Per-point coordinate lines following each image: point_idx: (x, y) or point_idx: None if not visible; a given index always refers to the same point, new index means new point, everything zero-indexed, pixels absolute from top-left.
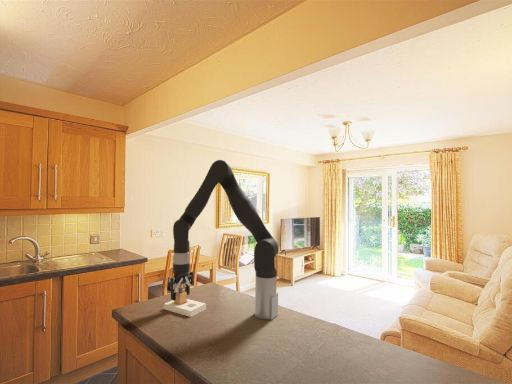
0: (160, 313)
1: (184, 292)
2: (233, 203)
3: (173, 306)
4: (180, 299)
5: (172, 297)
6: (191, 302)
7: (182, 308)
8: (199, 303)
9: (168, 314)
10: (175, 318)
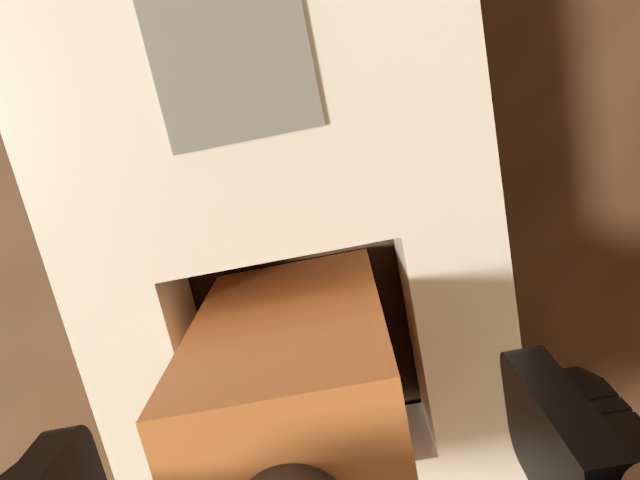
0: (635, 371)
1: (202, 445)
2: None
3: (513, 301)
4: (381, 318)
5: (616, 408)
6: (140, 211)
7: (478, 59)
8: (38, 29)
9: (584, 251)
10: (621, 20)
